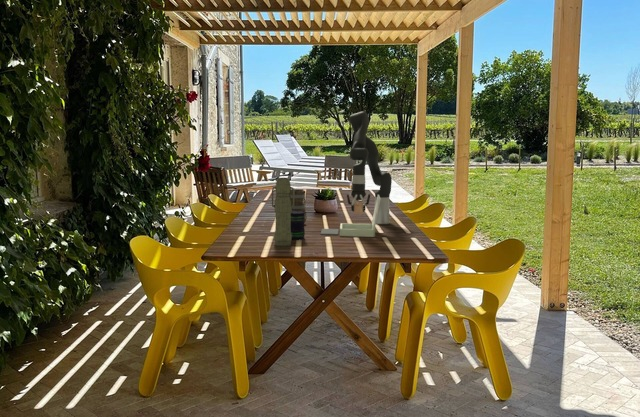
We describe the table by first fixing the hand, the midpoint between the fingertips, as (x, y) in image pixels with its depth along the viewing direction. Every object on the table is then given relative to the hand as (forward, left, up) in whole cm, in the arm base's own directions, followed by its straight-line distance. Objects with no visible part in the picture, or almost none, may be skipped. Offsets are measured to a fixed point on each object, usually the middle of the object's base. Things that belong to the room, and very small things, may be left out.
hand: (358, 211), depth 336 cm
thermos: (+39, +38, -13) cm, 56 cm away
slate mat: (+16, 0, -13) cm, 21 cm away
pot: (0, 0, -2) cm, 2 cm away
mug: (+44, -87, -13) cm, 99 cm away
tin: (+39, -25, -13) cm, 48 cm away
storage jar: (+34, +21, -13) cm, 42 cm away
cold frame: (-1, 0, -13) cm, 13 cm away
